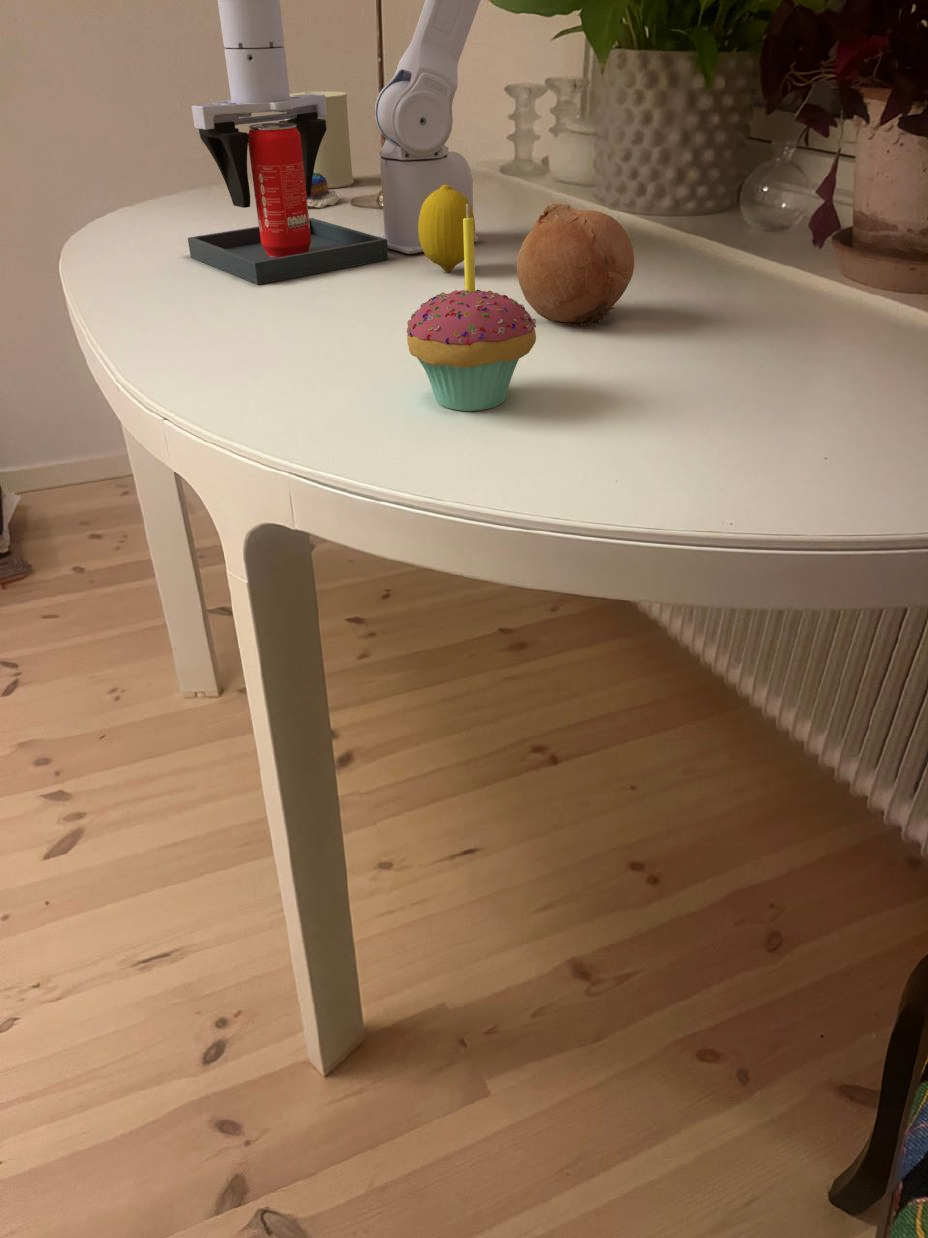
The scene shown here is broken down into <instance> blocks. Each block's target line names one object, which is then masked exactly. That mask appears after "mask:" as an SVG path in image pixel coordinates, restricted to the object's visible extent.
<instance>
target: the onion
mask: <svg viewBox="0 0 928 1238" xmlns="http://www.w3.org/2000/svg"><path fill="white" fill-rule="evenodd" d="M634 270H635V252H634V247H633V245H632V242H631V239H630V237H629V235H628V233H627V231H626V230H625V229H624V227H623V226H622V225H621V223H619V222H618V220H616V219H615V218H614V217H613V216H611V215H609V214H606V213H604V212H602V211H599V210H589V209H577V208H574V207H571V204H563V203H559V202H557V203H551V204H547V207H546V208H544V210H543V214H540V215H539V216H538V219H536V221H535V223H534V225H533V227H532V229H531V230H530V231H529V233H528V234H527V235H526V236H525V238H524V240H523V243H522V244H521V246H520V249H519V252H518V255H517V258H516V275H517V280H518V281H517V282H518V284H519V287H520V289H521V292H522V294H523V298H524V299H525V301H526V302H527V303H528V305H529V306H530V307H531V308H532V309H533V310H534V311H535V312H536V313H537V314H538V315H540V316H541V317H542V318H544V319H546V320H548V321H554V322H560V323H572V324H575V325H577V326H578V327H579V326H584V325H585V326H586V325H589V324H592V323H593V324H594V323H595V324H599V322H600V321H603V319H604V317H605V316H607V315H608V314H609V313H610V312H611V311H612V310H615V309H616V307H614V306H615V305H616V303H618V301H619V300H620V299H621V297H622V296H623V295H624V293H625V291H626V290H627V288H628V286H629V284H630V283H631V280H632V277H633V275H634Z"/></svg>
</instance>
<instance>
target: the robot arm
mask: <svg viewBox="0 0 928 1238" xmlns="http://www.w3.org/2000/svg"><path fill="white" fill-rule="evenodd" d="M480 3H481V0H425V1H424V4H423V6H422V9H421V12H420V15H419V19H418V21H417V23H416V27H415V29H414V33H413V36H412V39H411V41H410V44H409V45H408V47H407V48H406V50H405V52H404V53H403V54H402V57H401V58H400V60H399V62H398V64H397V68H396V70H395V73H394V74H393V77H392V78H391V80H390V81H389V82H388V83H387V84H386V85H385V86H384V87H382V89H381V90H380V92H379V94H378V95H377V98H376V100H375V104H374V119H375V123H376V126H377V128H378V130H379V132H380V133H381V134H382V136H383V137H384V138H385V140H384V143H383V146H382V148H380V150H379V156H380V157H379V163H380V178H381V180H380V181H381V197H382V210H383V227H384V235H380V236H379V235H378V237H380V238H384V239H387V246H388V249H389V250H392V251H393V250H394V251H397V252H401V253H403V254H407V255H413V254H419V253H422V252H423V249H422V247H421V244H420V240H419V234H418V222H419V215H420V210H421V207H422V205H423V203H424V201H425V200H426V198H427V197H428V196H429V195H430V194H431V193H433V192H434V191H436V190H438V189H440V187H441V186H442V185H445V184H446V185H450V187H451V188H452V189H454V190H456V191H458V192H460V193H461V194H463V195H464V196H465V197H466V199H467V200H468V201H469V203H470V205H471V208H472V211H473V212H474V191H473V190H474V183H473V174H472V170H471V168H470V164H469V162H468V161H467V159H466V158H465V157H464V156H463V155H462V154H461V153H460V152H456V151H449V146H446V145H445V144H446V143H447V141H448V140H449V138H450V135H451V133H452V130H453V122H454V121H453V120H454V119H453V102H454V99H455V95H456V92H457V89H458V85H459V84H458V83H459V79H458V76H459V75H458V74H459V73H458V71H459V70H458V69H459V61H460V58H461V55H462V53H463V51H464V48H465V45H466V42H467V39H468V36H469V33H470V31H471V28H472V25H473V22H474V21H475V18H476V14H477V11H478V10H479V9H478V8H479V6H480ZM217 7H218V14H219V20H220V28H221V36H222V43H223V48H224V57H225V65H226V71H227V80H228V87H229V95H230V99H229V100H222V101H216V102H209V103H203V104H194V105H191V113H192V119H193V125H194V129H197V130H198V134H199V137H200V140H201V141H202V143H203V144H204V145H205V147H206V149H207V150H208V151H209V153H210V154H211V155H210V156H212V158H213V160H214V161H215V163H216V165H217V167H218V169H219V171H220V174H221V176H222V178H223V181H224V182H225V185H226V187H227V190H228V193H229V197H230V199H231V203H232V205H233V207H239V208H243V209H244V208H245V209H246V208H251V191H250V190H251V189H250V183H249V182H250V181H249V174H248V151H249V146H248V139H249V134H248V133H249V132H244V131H240V130H239V128H238V127H236V126H241V125H249V124H260V123H268V122H275V121H276V122H277V121H278V123H294V124H297V130H298V131H299V133H300V136H301V145H302V155H303V165H304V174H305V184H306V194H307V197H309V196H310V195H311V187H312V179H313V172H314V166H315V161H316V157H317V153H318V150H319V147H320V144H321V141H322V139H323V136H324V134H325V132H326V130H327V128H326V120H325V119H318V117H320V116H326V115H327V113H326V101H325V95H321V94H306V95H290V94H289V93H290V85H289V76H288V65H287V56H286V49H285V38H284V28H283V20H282V11H281V1H280V0H217ZM272 112H273V113H274V114H266V115H265V114H264V115H256V116H255V115H254V116H252V114H255V113H257V114H259V113H272ZM284 112H286V113H284ZM285 119H289V120H285ZM478 241H479V238H478V236H476V235H475V240H474V243H476V242H478ZM423 253H424V252H423Z"/></svg>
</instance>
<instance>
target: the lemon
mask: <svg viewBox="0 0 928 1238" xmlns="http://www.w3.org/2000/svg"><path fill="white" fill-rule="evenodd" d="M466 204H469V209H470V218H473V223H474V240H475V236H476V220H475V216H474V210H473V211H472V208H471V205H470V203H469V201H468V200H467V199H466V197H465V196H464V195H463V194H461V193H460V192H458V191H456V190H454V189H452V188H451V187H450V185H446V184H445V185H442V186H441V187H440V189H438V190H436V191H434V192H433V193H431V194H430V195H429V196H428V197H427V198H426V200H425V201H424V203H423V205H422V207H421V210H420V215H419V222H418V234H419V240H420V244H421V247H422V249H423V253H424V255H425V256H426V257H427V259H428V260H429V261H431V262H432V263H433V264H436V265H437V266H439V267H440V268H441V269H442V270H443V271H444V272H445V273H451V272H452V271H453V269H455V267H456V266H458V265H459V264H461V263H463V262H464V233H463V219H464V218H467V215H466Z"/></svg>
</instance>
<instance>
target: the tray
mask: <svg viewBox="0 0 928 1238" xmlns="http://www.w3.org/2000/svg"><path fill="white" fill-rule="evenodd" d="M309 223H310V233H311V243H310V246H309V252H306V253H301V254H295V255H290V256H284V257H279V258H273V257H269V256H267V254H266V251H265V249H264V248H263V246H262V244H261V238H260V230H259V225H258V226H252V227H246V228H239V229H234V230H228V231H221V232H215V233H209V234H202V235H201V234H200V235H195V236H190V237H187V244H188V248H189V257H190V258H191V259H194V260H197V261H199V262H202V263H204V264H207V265H209V266H211V267H214V268H216V269H219V270H221V271H222V272H226V273H228V274H231V275H234V276H236V277H238V278H240V279H244V280H246V281H248V282H250V283H253V284H256V285H258V286H259V285H262V284H263V285H264V284H268V283H273V282H279V281H284V280H289V279H294V278H300V277H304V276H305V277H306V276H309V275H314V274H320V273H326V272H330V271H335V270H342V269H345V268H351V267H356V266H361V265H367V264H372V263H377V262H382V261H387V260H389V248H388V246H387V239H384V238H380V237H379V236H378V235H373V234H369V233H367V232H362V231H359V230H356V229H351V228H349V227H345V226H342V225H338V224H334V223H331V222H327V221H325V220H321V219H318V218H314V217H309Z"/></svg>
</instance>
